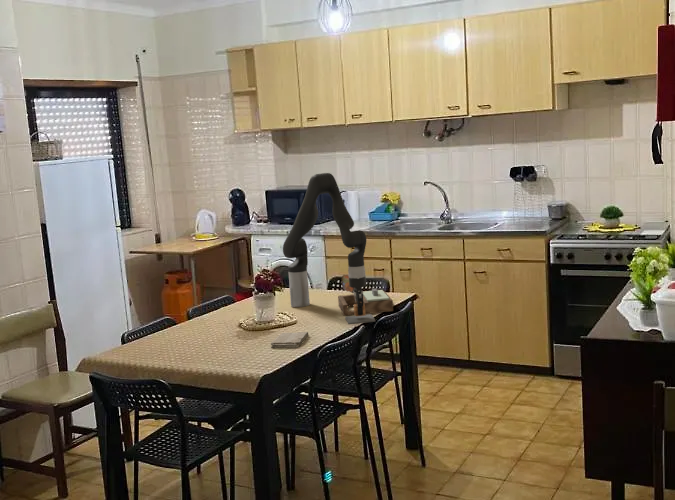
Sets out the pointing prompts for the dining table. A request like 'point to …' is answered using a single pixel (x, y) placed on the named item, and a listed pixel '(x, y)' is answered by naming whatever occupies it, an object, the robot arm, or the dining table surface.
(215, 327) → the dining table surface
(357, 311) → the block
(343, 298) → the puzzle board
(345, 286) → the tin
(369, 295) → the cover
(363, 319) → the rubber mat
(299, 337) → the washcloth
